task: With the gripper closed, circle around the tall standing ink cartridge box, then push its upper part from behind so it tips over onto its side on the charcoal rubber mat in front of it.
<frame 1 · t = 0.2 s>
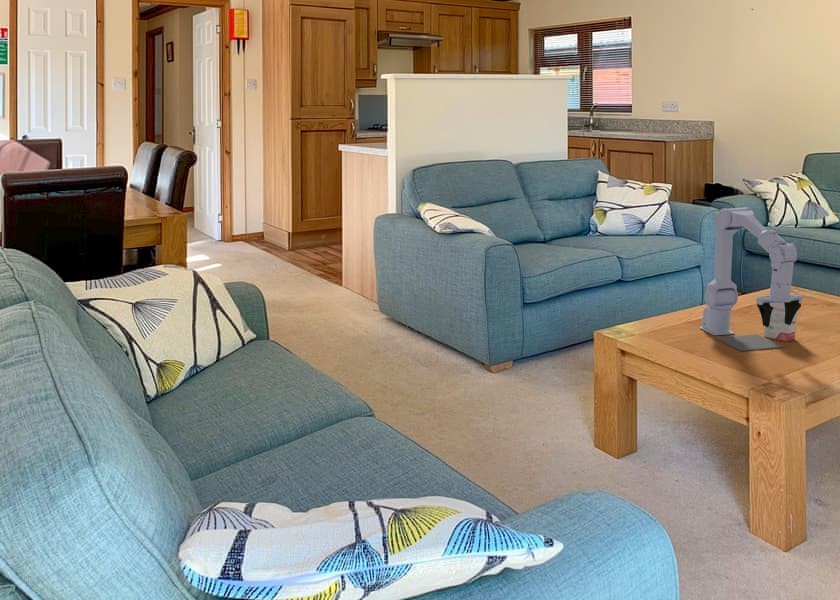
hand: (776, 325, 240), 10 cm above the table, tool pointing down, fingers open, 7 cm apart
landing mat: (749, 343, 255), on the table
ink cartridge box: (779, 338, 261), on the table
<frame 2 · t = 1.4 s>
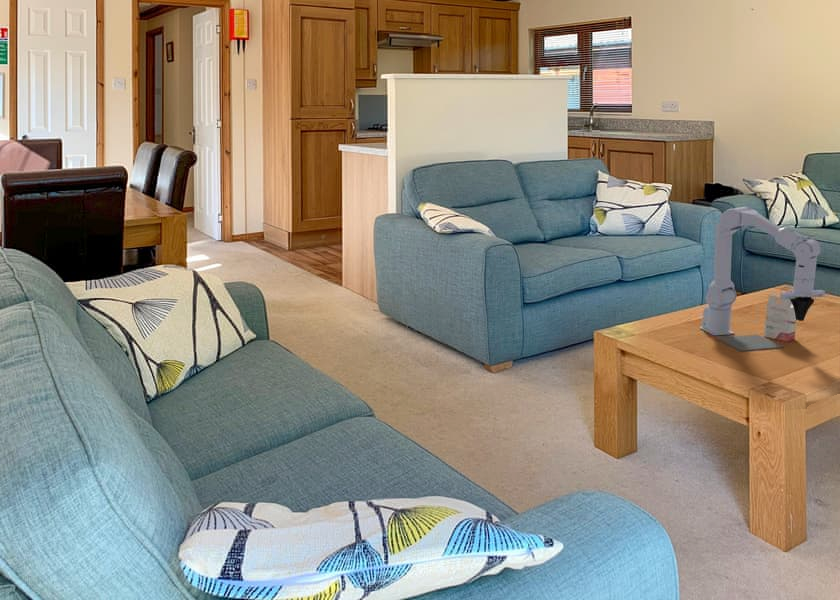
hand: (799, 320, 244), 10 cm above the table, tool pointing down, fingers closed
nothing on the table moved.
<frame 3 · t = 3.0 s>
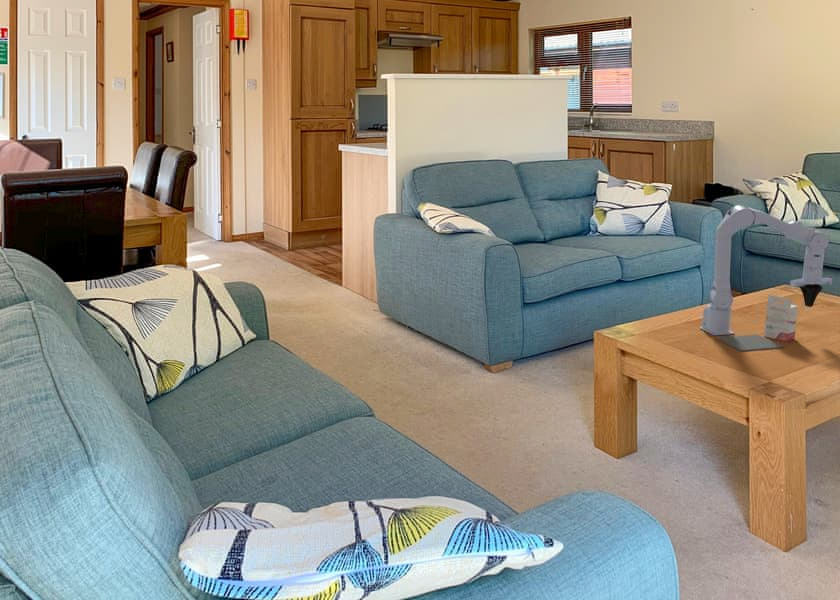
hand: (808, 306, 260), 10 cm above the table, tool pointing down, fingers closed
nothing on the table moved.
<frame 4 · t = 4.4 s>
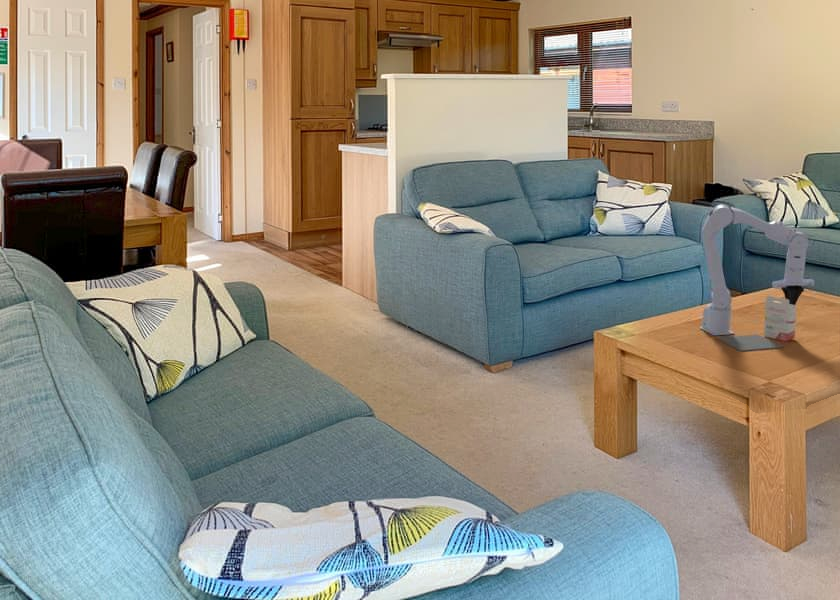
hand: (790, 307, 259), 10 cm above the table, tool pointing down, fingers closed
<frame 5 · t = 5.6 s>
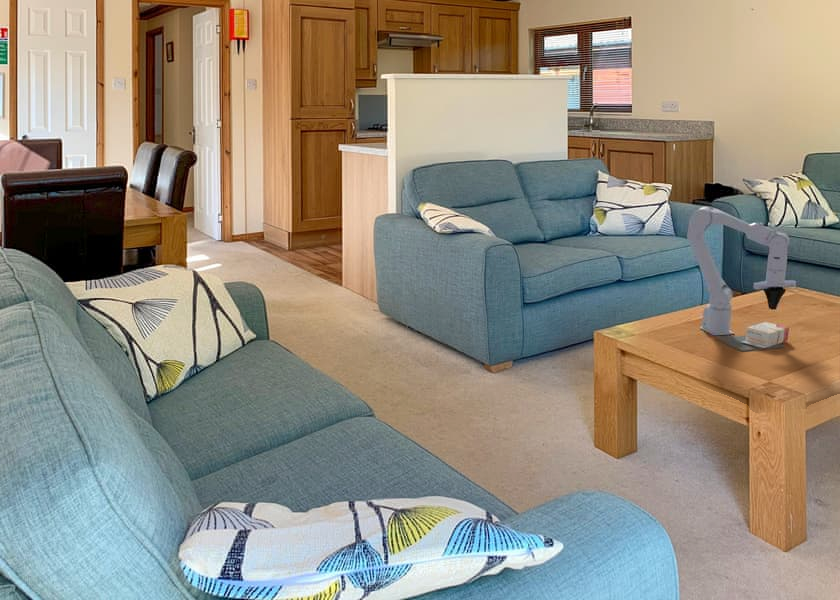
hand: (772, 308, 258), 10 cm above the table, tool pointing down, fingers closed
ink cartridge box: (776, 330, 259), point 3 cm above the table, touching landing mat
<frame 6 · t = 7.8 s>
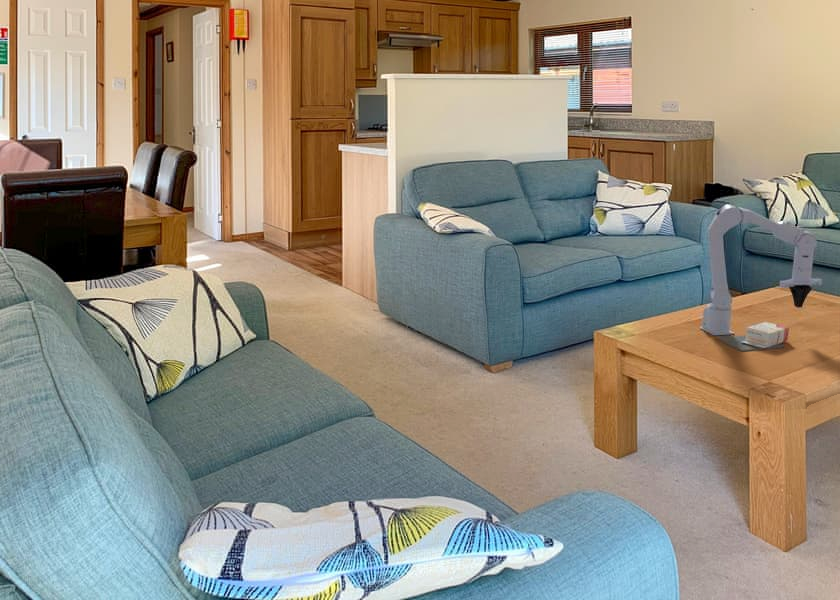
hand: (798, 306, 259), 10 cm above the table, tool pointing down, fingers closed
nothing on the table moved.
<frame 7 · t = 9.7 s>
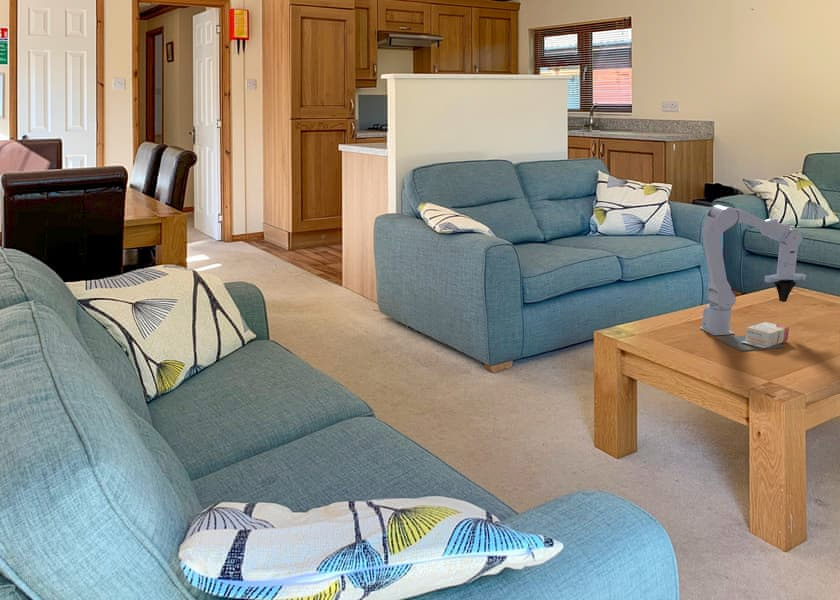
hand: (782, 301, 267), 10 cm above the table, tool pointing down, fingers closed
nothing on the table moved.
at the end: ink cartridge box tilted 90°; ink cartridge box touching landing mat; ink cartridge box inside the target area (10.6 cm from its centre), point 2.9 cm above the table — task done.
